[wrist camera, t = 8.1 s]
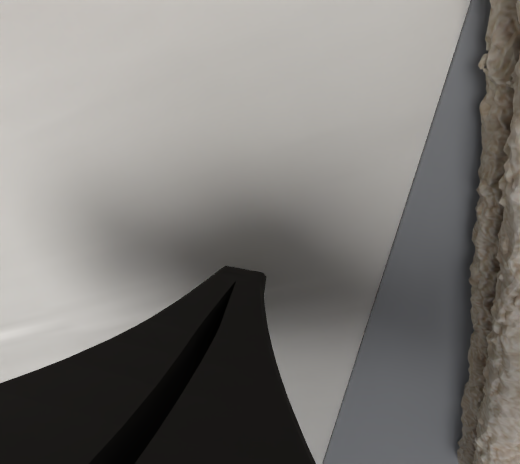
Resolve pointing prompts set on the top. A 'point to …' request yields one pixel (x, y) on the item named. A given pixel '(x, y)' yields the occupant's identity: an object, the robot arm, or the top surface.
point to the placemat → (424, 291)
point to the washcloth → (496, 257)
